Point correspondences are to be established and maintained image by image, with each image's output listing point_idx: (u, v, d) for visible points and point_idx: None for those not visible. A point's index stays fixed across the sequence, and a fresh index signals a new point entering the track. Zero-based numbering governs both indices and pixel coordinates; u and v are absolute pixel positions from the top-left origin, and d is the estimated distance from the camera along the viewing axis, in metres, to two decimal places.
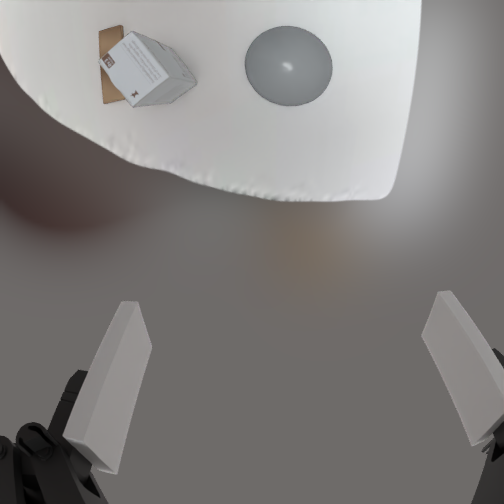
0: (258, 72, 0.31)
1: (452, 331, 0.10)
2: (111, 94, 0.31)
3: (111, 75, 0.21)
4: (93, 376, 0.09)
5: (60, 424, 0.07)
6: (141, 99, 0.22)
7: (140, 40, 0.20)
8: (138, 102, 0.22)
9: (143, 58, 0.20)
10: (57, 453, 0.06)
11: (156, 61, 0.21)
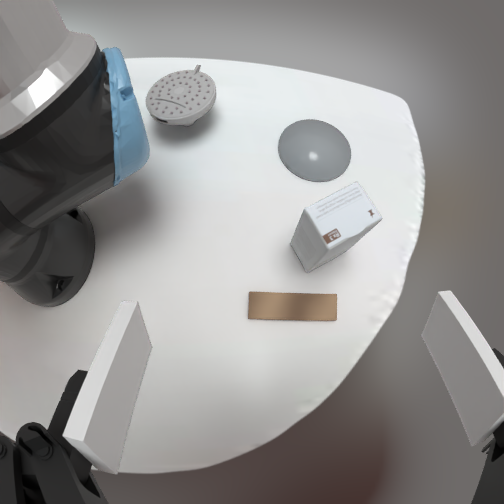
0: (323, 170, 0.39)
1: (452, 332, 0.10)
2: (328, 309, 0.34)
3: (349, 234, 0.25)
4: (93, 376, 0.09)
5: (60, 425, 0.07)
6: None
7: None
8: None
9: (337, 199, 0.25)
10: (57, 453, 0.06)
11: (341, 189, 0.26)
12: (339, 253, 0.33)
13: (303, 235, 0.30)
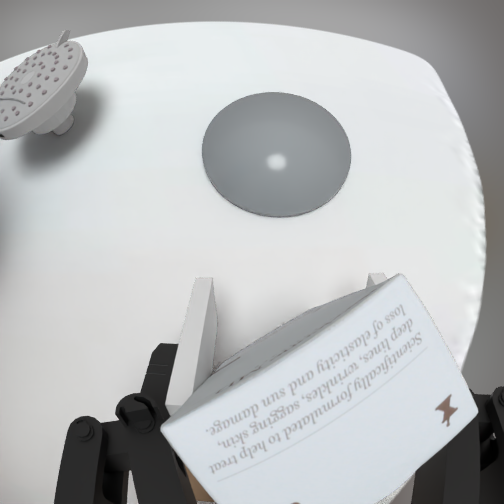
0: (294, 191, 0.19)
1: None
2: None
3: None
4: (186, 345, 0.10)
5: (151, 397, 0.09)
6: (463, 382, 0.05)
7: (214, 398, 0.05)
8: None
9: (310, 385, 0.05)
10: (159, 428, 0.07)
11: (333, 328, 0.06)
12: None
13: None
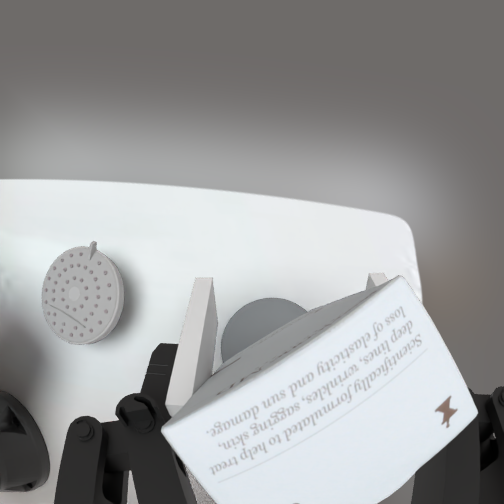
0: None
1: None
2: None
3: None
4: (186, 345, 0.10)
5: (151, 397, 0.09)
6: None
7: (215, 400, 0.05)
8: None
9: (311, 387, 0.05)
10: (159, 428, 0.07)
11: (333, 329, 0.06)
12: None
13: None
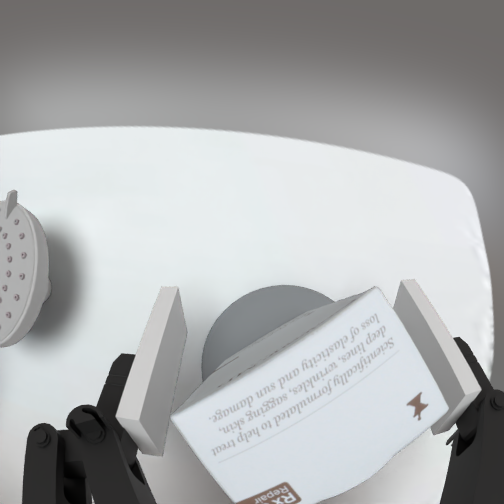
0: None
1: (414, 319, 0.11)
2: None
3: (331, 492, 0.06)
4: (142, 357, 0.09)
5: (107, 408, 0.08)
6: (433, 382, 0.06)
7: (216, 391, 0.07)
8: None
9: (296, 380, 0.06)
10: (109, 438, 0.07)
11: (316, 332, 0.07)
12: None
13: None
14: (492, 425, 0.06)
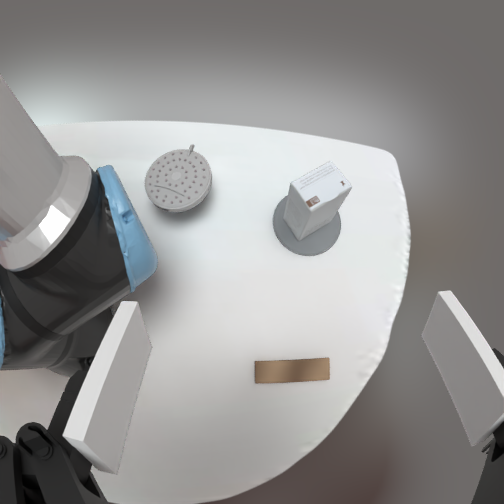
0: (315, 244, 0.44)
1: (452, 332, 0.10)
2: (322, 371, 0.39)
3: (326, 199, 0.33)
4: (93, 376, 0.09)
5: (60, 425, 0.07)
6: (346, 180, 0.33)
7: (299, 178, 0.34)
8: (348, 183, 0.33)
9: (315, 174, 0.33)
10: (57, 453, 0.06)
11: (318, 167, 0.34)
12: (323, 222, 0.41)
13: (292, 206, 0.37)
14: None
